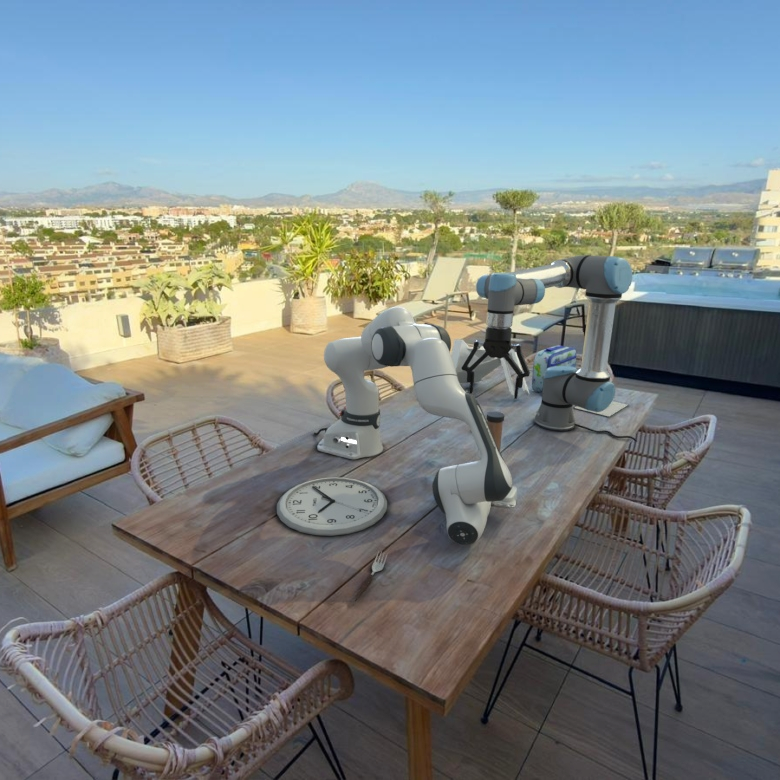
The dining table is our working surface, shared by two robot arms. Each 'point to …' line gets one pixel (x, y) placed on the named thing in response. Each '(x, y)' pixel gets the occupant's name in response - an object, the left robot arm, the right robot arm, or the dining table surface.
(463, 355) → the white plastic object
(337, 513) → the wall clock
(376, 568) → the fork
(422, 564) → the dining table surface
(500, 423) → the bottle
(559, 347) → the lunch box
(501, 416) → the lid
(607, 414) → the invitation card
